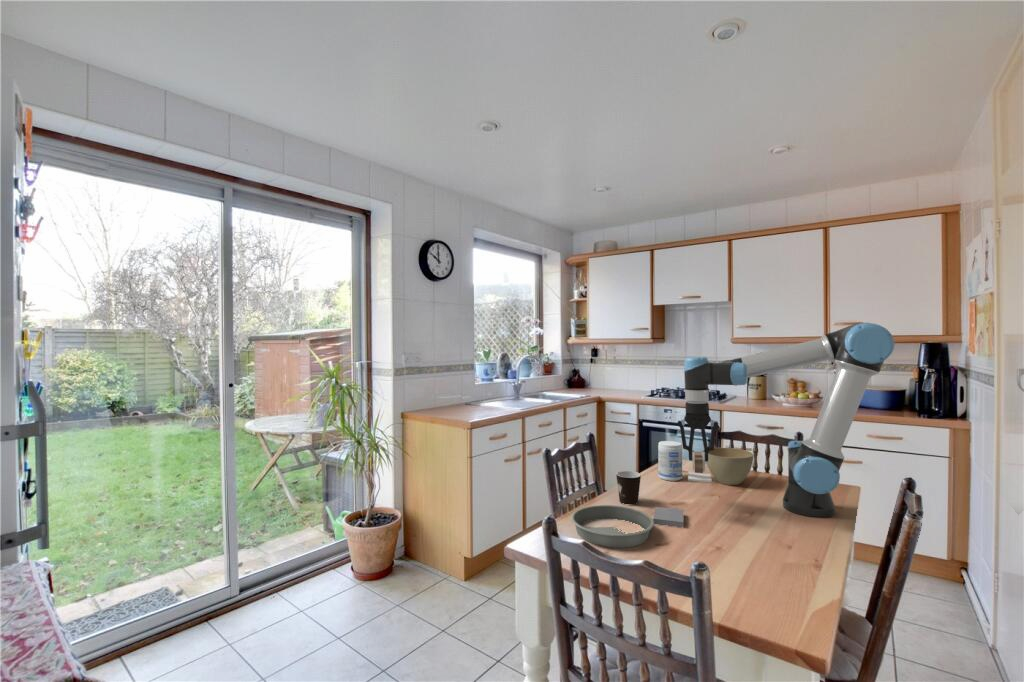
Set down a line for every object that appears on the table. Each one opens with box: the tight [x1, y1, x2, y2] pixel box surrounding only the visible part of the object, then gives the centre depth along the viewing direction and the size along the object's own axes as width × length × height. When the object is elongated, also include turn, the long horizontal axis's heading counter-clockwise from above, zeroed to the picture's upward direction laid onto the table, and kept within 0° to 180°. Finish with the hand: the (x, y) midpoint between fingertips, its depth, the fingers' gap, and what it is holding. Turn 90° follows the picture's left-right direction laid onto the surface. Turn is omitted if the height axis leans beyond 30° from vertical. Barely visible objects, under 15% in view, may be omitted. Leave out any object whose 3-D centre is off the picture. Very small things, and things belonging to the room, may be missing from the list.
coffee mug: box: [615, 470, 642, 505], centre depth 173 cm, size 12×9×10 cm
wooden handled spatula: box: [687, 451, 713, 483], centre depth 163 cm, size 20×7×5 cm, turn 160°
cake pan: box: [570, 504, 655, 548], centre depth 146 cm, size 25×25×4 cm
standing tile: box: [652, 506, 685, 528], centre depth 155 cm, size 2×9×11 cm
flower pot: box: [705, 447, 754, 486], centre depth 193 cm, size 18×18×12 cm
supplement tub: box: [657, 440, 683, 482], centre depth 200 cm, size 10×10×15 cm
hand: (698, 470), depth 164 cm, fingers closed on wooden handled spatula, 2 cm apart
